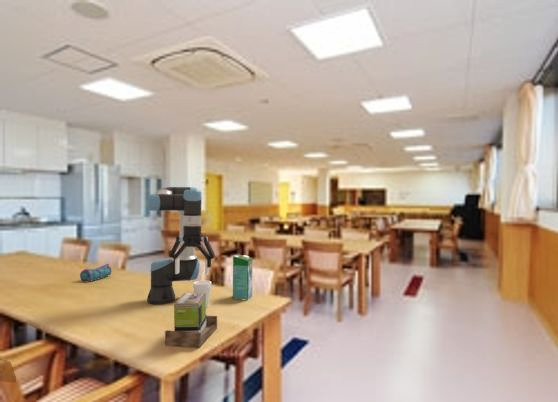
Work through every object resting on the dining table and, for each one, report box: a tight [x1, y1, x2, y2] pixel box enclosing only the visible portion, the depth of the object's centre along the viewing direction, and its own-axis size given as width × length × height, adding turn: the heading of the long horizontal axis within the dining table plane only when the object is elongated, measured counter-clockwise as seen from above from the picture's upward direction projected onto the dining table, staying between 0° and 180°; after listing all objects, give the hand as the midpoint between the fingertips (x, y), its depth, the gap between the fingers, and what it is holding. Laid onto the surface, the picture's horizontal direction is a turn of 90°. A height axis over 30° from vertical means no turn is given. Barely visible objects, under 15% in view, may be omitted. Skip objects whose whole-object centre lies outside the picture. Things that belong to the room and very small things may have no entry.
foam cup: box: [192, 279, 212, 309], centre depth 177 cm, size 10×9×13 cm
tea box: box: [173, 292, 207, 334], centre depth 138 cm, size 15×10×15 cm
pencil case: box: [79, 263, 112, 282], centre depth 240 cm, size 21×9×10 cm, turn 165°
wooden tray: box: [164, 314, 218, 349], centre depth 138 cm, size 14×20×6 cm
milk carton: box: [232, 253, 253, 301], centre depth 195 cm, size 9×9×25 cm
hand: (192, 274), depth 144 cm, fingers open, 13 cm apart
